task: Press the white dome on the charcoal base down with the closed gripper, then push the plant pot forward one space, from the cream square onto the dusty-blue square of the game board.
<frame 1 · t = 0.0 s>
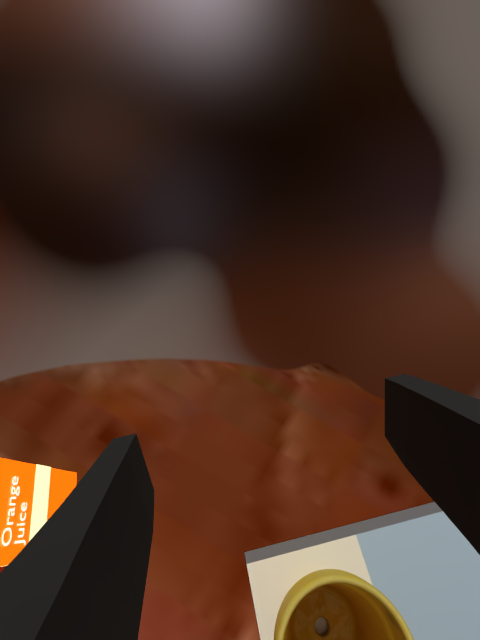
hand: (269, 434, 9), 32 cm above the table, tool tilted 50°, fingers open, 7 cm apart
orange juice: (36, 517, 36), on the table
game board: (379, 605, 32), on the table
plant pot: (320, 622, 32), resting on game board
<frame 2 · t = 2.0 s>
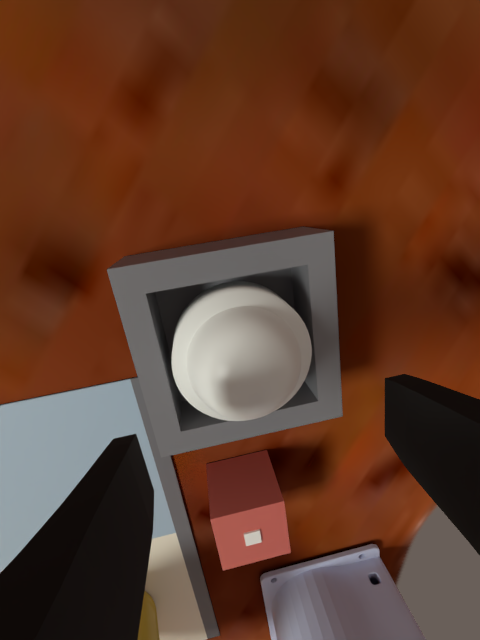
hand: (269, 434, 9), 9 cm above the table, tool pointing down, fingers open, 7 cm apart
red die: (241, 480, 22), on the table
dome button: (243, 360, 14), point 5 cm above the table, slide at 0.0 cm
dome base: (230, 324, 18), on the table
game board: (86, 553, 22), on the table
plant pot: (111, 609, 24), resting on game board
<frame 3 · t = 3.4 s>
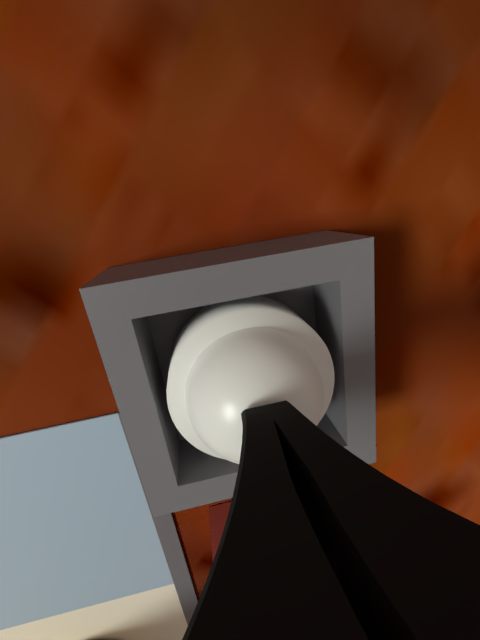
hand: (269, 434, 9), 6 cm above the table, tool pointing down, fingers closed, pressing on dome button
red die: (249, 524, 19), on the table
dome button: (253, 391, 11), point 4 cm above the table, slide at 0.7 cm, touching gripper
dome base: (237, 348, 15), on the table
game board: (69, 609, 19), on the table
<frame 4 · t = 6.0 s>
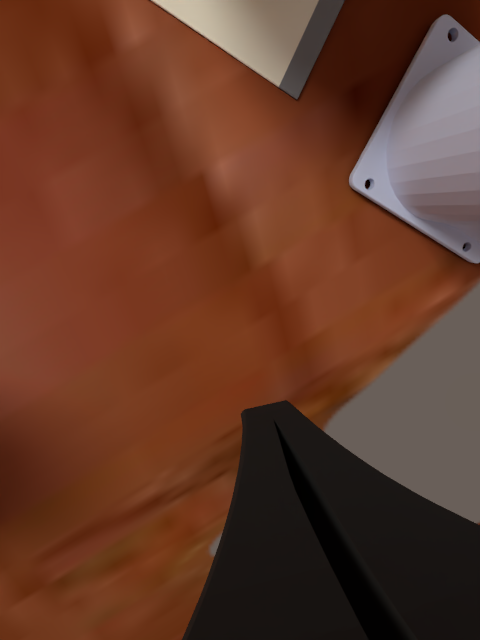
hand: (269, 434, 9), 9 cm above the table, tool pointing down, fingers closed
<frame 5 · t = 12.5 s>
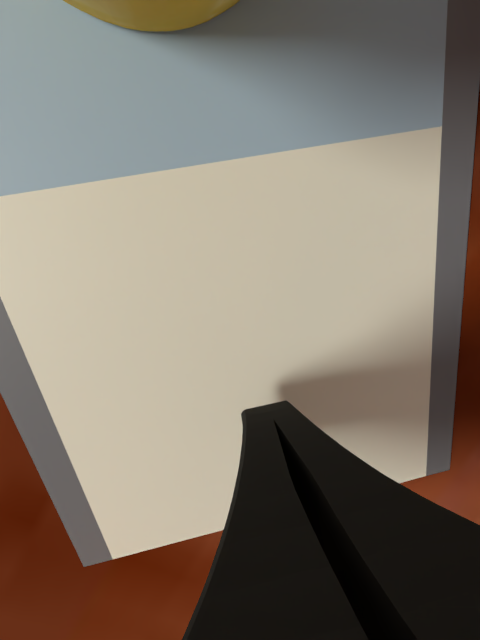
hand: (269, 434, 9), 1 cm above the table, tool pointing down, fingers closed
game board: (217, 162, 8), on the table
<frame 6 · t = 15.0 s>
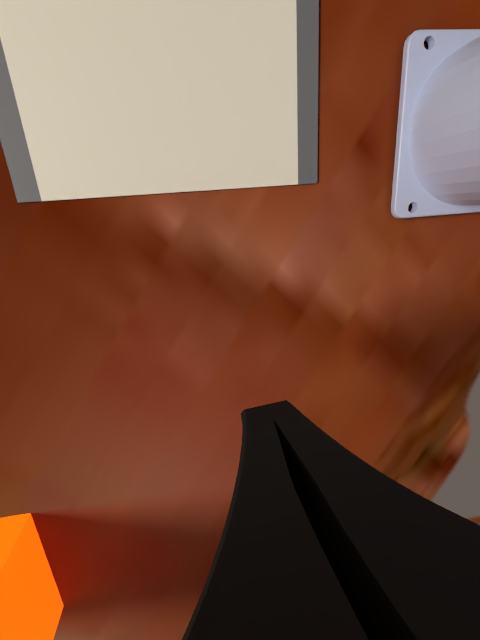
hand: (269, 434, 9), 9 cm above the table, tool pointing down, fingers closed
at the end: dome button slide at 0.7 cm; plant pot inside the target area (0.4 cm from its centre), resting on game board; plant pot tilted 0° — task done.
